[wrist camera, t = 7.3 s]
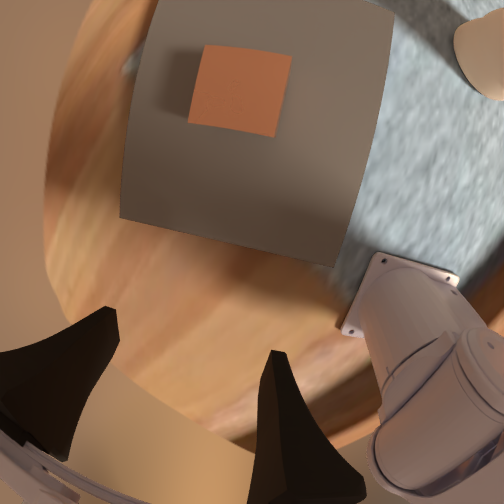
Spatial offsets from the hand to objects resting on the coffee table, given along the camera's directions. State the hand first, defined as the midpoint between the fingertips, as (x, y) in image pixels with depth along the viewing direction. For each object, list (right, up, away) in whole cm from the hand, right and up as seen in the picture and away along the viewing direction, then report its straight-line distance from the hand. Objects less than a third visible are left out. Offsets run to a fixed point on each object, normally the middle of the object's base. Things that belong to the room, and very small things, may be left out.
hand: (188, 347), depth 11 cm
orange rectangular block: (+3, +14, +5) cm, 15 cm away
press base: (+3, +14, +5) cm, 15 cm away
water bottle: (+22, +20, 0) cm, 29 cm away
